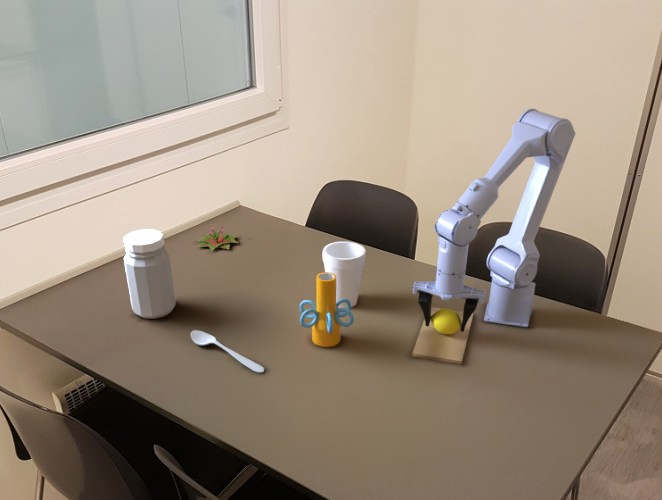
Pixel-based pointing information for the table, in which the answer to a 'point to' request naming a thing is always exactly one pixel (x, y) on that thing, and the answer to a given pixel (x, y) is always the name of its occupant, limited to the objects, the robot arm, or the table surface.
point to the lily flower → (217, 240)
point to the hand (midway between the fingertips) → (444, 326)
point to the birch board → (442, 342)
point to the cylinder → (326, 312)
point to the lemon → (446, 321)
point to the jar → (149, 274)
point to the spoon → (205, 339)
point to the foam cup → (345, 269)
